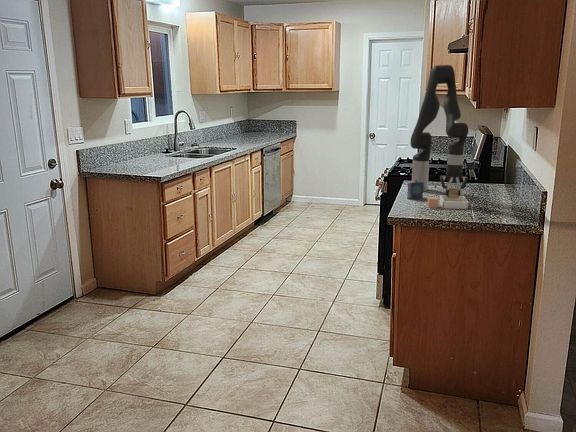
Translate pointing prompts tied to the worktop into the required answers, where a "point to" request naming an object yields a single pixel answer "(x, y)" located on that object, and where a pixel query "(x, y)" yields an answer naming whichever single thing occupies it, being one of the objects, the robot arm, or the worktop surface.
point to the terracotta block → (432, 202)
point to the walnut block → (453, 193)
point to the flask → (415, 189)
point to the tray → (453, 202)
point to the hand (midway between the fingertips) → (452, 196)
